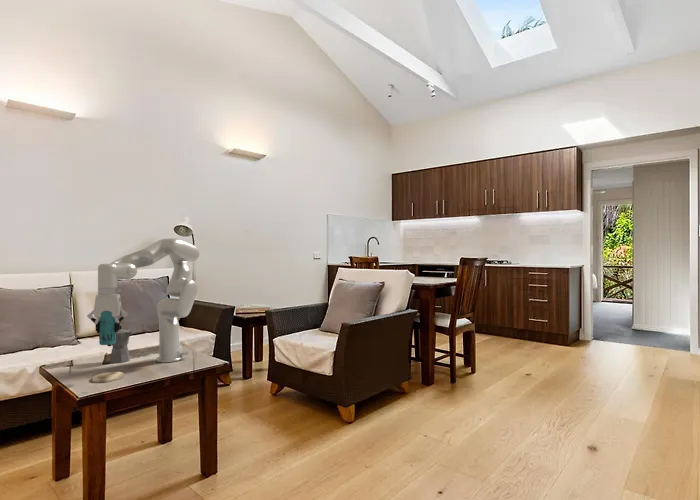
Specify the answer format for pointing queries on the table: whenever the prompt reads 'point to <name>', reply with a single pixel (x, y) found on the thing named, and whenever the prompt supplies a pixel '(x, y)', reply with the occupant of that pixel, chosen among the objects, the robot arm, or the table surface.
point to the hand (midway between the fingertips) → (107, 331)
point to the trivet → (107, 377)
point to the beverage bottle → (107, 328)
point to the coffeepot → (120, 347)
